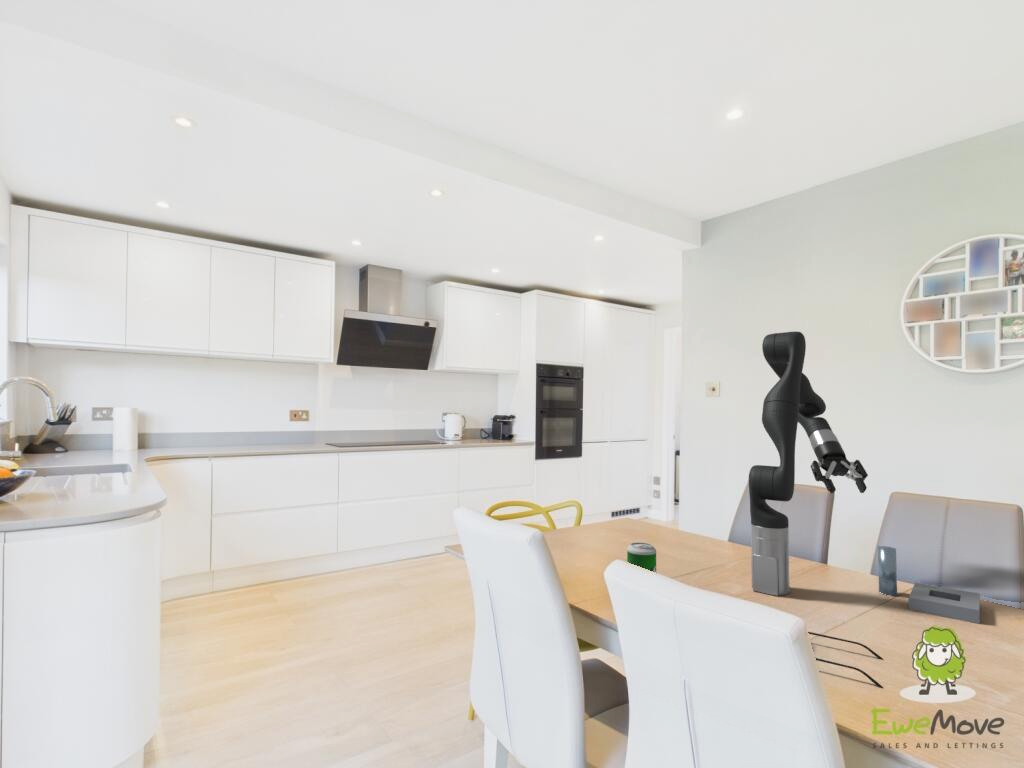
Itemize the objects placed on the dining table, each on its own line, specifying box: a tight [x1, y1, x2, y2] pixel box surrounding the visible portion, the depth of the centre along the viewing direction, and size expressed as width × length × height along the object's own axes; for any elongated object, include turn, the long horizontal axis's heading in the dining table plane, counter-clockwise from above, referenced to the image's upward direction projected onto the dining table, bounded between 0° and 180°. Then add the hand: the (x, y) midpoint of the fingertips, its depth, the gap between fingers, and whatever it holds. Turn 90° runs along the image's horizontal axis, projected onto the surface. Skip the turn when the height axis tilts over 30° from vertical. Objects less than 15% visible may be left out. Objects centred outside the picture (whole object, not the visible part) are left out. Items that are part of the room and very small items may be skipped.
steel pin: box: [877, 545, 898, 597], centre depth 143 cm, size 4×4×12 cm
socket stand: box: [908, 582, 981, 625], centre depth 133 cm, size 16×13×3 cm
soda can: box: [626, 541, 657, 573], centre depth 143 cm, size 8×8×12 cm
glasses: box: [808, 631, 884, 689], centre depth 103 cm, size 14×16×5 cm
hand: (848, 491), depth 157 cm, fingers open, 8 cm apart
